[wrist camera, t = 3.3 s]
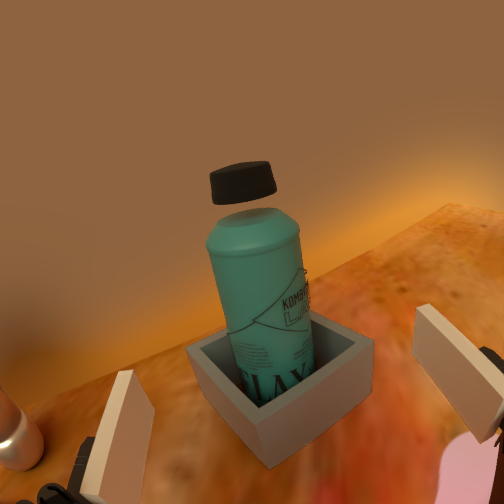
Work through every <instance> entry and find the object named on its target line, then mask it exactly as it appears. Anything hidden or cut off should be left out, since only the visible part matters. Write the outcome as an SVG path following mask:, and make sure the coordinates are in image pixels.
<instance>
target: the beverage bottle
mask: <svg viewBox="0 0 504 504" xmlns="http://www.w3.org/2000/svg"><path fill="white" fill-rule="evenodd" d="M210 183H211V190H212V200H213V203H214V204H217V205H227V204H236V203H242V202H248V201H252V200H256V199H260V198H263V197H266V196H269V195H272V194H274V193H275V192H276V191H277V187H276V183H275V180H274V177H273V174H272V170H271V166H270V164H269V162H267V161H257V162H256V161H255V162H244V163H238V164H234V165H230V166H227V167H224V168H221V169H219V170H216V171H213V172H211V173H210ZM299 232H300V229H299V225H298V223H297V222H296V221H295V220H294V219H292V218H291V217H290V216H288V215H287V214H285V213H284V212H282V211H281V210H279V209H276V208H257V209H251V210H246V211H242V212H238V213H235V214H232V215H229V216H227V217H224V218H222V219H221V220H219V221H218V222H217V224H216V225H215V226H214V228H213V229H212V231H211V232H210V234H209V236H208V237H207V239H206V248H207V251H208V252H209V256H210V260H211V264H212V268H213V272H214V276H215V280H216V284H217V288H218V292H219V296H220V300H221V304H222V307H223V311H224V315H225V319H226V323H227V329H228V333H229V334H228V333H227V335H229V336H230V340H231V344H232V345H231V344H230V345H231V347H233V351H234V352H233V351H232V352H233V354H235V359H236V360H235V361H236V362H237V365H238V366H237V367H238V370H237V371H238V373H240V376H239V378H240V377H241V380H242V381H241V383H243V384H241V385H242V386H243V387H244V391H245V393H246V394H245V395H246V397H247V398H248V399H249V400H250V401H251V402H253V403H254V404H255V405H256V406H257V407H258V408H261V407H262V406H264V405H266V404H267V403H269V402H270V401H272V400H274V399H275V398H277V397H278V396H280V395H282V394H283V393H285V392H286V391H288V390H289V389H291V388H292V387H294V386H296V385H297V384H299V383H300V382H302V381H303V380H305V379H306V378H308V377H309V376H310V375H312V374H313V373H315V372H316V371H317V366H316V362H317V359H316V356H315V349H316V348H315V349H313V348H314V346H313V340H314V339H312V338H313V336H312V330H311V321H310V320H311V319H310V312H309V308H310V307H309V302H310V304H311V301H310V300H309V301H308V295H309V293H308V295H307V292H308V290H309V288H308V287H309V284H307V283H306V279H305V274H306V273H307V272H306V273H305V272H304V270H305V269H304V267H303V260H302V252H301V245H300V237H299ZM305 271H306V270H305ZM307 282H308V281H307ZM306 286H307V287H306ZM307 288H308V290H307ZM309 298H310V297H309ZM313 333H314V332H313ZM313 335H314V334H313ZM314 358H315V359H314ZM315 368H316V369H315ZM238 375H239V374H238ZM242 389H243V388H242Z"/></svg>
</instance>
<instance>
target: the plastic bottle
mask: <svg viewBox="0 0 504 504" xmlns="http://www.w3.org/2000/svg"><path fill="white" fill-rule="evenodd" d="M43 452H44V439H43V435H42V434H41V432H40V430H39V428H38V427H37V425H36V423H35V422H34V421H33V420H32V419H31V418H30V417H29V416H28V415H27V414H26V413H25V412H24V411H23V410H21V409H20V408H18V406H17V405H16V404H15V403H14V402H13V400H12V399H11V398H10V397H9V396H8V395H7V393H6V392H5V391H4V390H3V388H2V387H1V386H0V464H2V465H3V466H4V467H6V468H7V469H10V470H14V471H26V470H28V469H30V468H32V467H33V466H35V465H36V464H37V463H38V462H39V460H40V459H41V457H42V455H43Z"/></svg>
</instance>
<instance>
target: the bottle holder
mask: <svg viewBox="0 0 504 504" xmlns="http://www.w3.org/2000/svg"><path fill="white" fill-rule="evenodd" d="M309 312H310V319H311V320H310V321H311V330H312V336H313V338H312V339H314V340H313V346H314V348H313V349H315V348H316V349H315V356H316V359H317V362H316V366H317V371H316V372H315V373H313V374H312V375H310V376H309V377H308V378H306V379H305V380H303V381H302V382H300V383H299V384H297V385H296V386H294V387H292V388H291V389H289V390H288V391H286V392H285V393H283V394H282V395H280V396H278V397H277V398H275V399H274V400H272V401H270V402H269V403H267V404H266V405H264V406H262V407H261V408H258V407H257V406H256V405H255V404H254V403H253V402H251V401H250V400H249V399H248V398H247V397H246V396H245V395H244V394H243V393H242V392H241V391H240V390H239V389H238V388H237V387H236V386H237V385H239V384H240V383H241V381H242V380H241V377H240V378H239V376H240V373H238V371H237V370H238V367H237V366H238V365H237V362H236V361H235V360H236V359H235V354H233V352H234V351H233V347H231V345H232V344H231V340H230V336H229V335H227V333H228V329H227V328H225V329H223V330H221V331H219V332H217V333H215V334H213V335H211V336H209V337H207V338H205V339H202V340H200V341H198V342H196V343H194V344H192V345H190V346H188V347H185V350H186V352H187V355H188V358H189V360H190V363H191V365H192V368H193V370H194V373H195V375H196V378H197V380H198V383H199V385H200V388H201V390H202V392H203V395H204V396H205V397H206V399H207V400H208V401H209V402H210V404H211V405H212V406H213V407H214V409H215V410H216V411H217V412H218V413H219V415H220V416H221V417H222V418H223V419H224V421H225V422H226V423H227V424H228V425H229V426H230V428H231V429H232V430H233V431H234V432H235V433H236V434H237V436H238V437H239V438H240V439H241V440H242V441H243V442H244V443H245V445H246V446H247V447H248V448H249V449H250V450H251V451H252V452H253V453H254V454H255V455H256V457H257V458H258V459H259V460H260V461H261V462H262V463H263V464H264V465H265V466H266V467H267V468H268V469H269V470H270V469H272V468H273V467H275V466H276V465H278V464H279V463H281V462H282V461H284V460H285V459H287V458H288V457H290V456H291V455H293V454H294V453H296V452H297V451H299V450H300V449H302V448H303V447H304V446H306V445H307V444H309V443H310V442H311V441H313V440H314V439H315V438H317V437H318V436H319V435H321V434H322V433H323V432H325V431H326V430H327V429H329V428H330V427H331V426H333V425H334V424H335V423H336V422H338V421H339V420H340V419H341V418H343V417H344V416H345V415H346V414H347V413H349V412H350V411H351V410H352V409H353V408H355V407H356V406H357V405H358V404H359V403H361V402H362V401H363V400H364V399H365V398H366V397H367V396H369V395H370V394H371V391H372V377H373V360H374V340H372V339H370V338H368V337H366V336H363V335H361V334H359V333H357V332H355V331H353V330H351V329H349V328H347V327H344V326H342V325H340V324H338V323H336V322H334V321H332V320H330V319H328V318H326V317H324V316H322V315H320V314H317V313H315V312H313V311H311V310H309ZM313 332H314V333H313ZM228 334H229V333H228ZM313 334H314V335H313ZM230 344H231V345H230ZM232 351H233V352H232ZM314 359H315V358H314ZM315 369H316V368H315ZM238 374H239V375H238Z"/></svg>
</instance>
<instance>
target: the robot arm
mask: <svg viewBox="0 0 504 504" xmlns="http://www.w3.org/2000/svg"><path fill="white" fill-rule="evenodd" d="M411 353H412V354H413V355H414V357H415V358H416V359H417V361H418V362H419V363H420V364H421V366H422V367H423V368H424V369H425V371H426V372H427V373H428V374H429V376H430V377H431V378H432V380H433V381H434V382H435V384H436V385H437V386H438V387H439V389H440V390H441V391H442V393H443V394H444V395H445V397H446V398H447V399H448V401H449V402H450V403H451V405H452V406H453V407H454V409H455V410H456V411H457V413H458V414H459V415H460V417H461V418H462V420H463V421H464V422H465V424H466V425H467V426H468V428H469V429H470V431H471V432H472V433H473V435H474V436H475V437H476V439H477V440H478V442H479V443H480V444H481V443H483V442H485V441H486V440H488V439H489V438H491V437H492V436H493V435H494V434H495V433H496V431H497V429H498V427H500V428H501V430H502V432H501V434H500V436H499V437H498V439H497V441H496V443H495V445H494V447H496V446H497V445H498V443H499V442H500V444H499V452H498V459H497V466H496V471H495V477H494V482H493V487H492V492H491V496H490V501H489V504H504V360H503V359H501V357H500V356H499V355H498V354H497V353H496V352H494V351H493V350H491V349H489V348H487V347H485V346H483V347H481V348H480V349H478V348H477V347H476V346H475V345H474V344H472V343H471V342H470V341H469V340H468V339H467V338H466V337H465V336H464V335H463V334H462V333H461V332H460V331H459V330H458V329H457V328H456V327H455V326H453V325H452V324H451V323H450V322H449V321H448V320H447V319H446V318H445V317H444V316H443V315H442V314H440V313H439V312H438V311H437V310H436V309H435V308H434V307H433V306H432V305H430V304H429V303H428V304H425V305H422V306H419V307H416V314H415V325H414V335H413V344H412V352H411ZM154 413H155V409H154V407H153V406H152V404H151V402H150V400H149V399H148V397H147V395H146V393H145V391H144V389H143V388H142V386H141V384H140V382H139V380H138V378H137V376H136V374H135V372H134V370H127V371H119V372H118V375H117V377H116V380H115V383H114V385H113V388H112V391H111V394H110V397H109V399H108V402H107V405H106V408H105V411H104V414H103V417H102V420H101V423H100V426H99V429H98V432H97V435H96V437H87V438H86V439H85V441H84V442H83V443H82V445H81V446H80V449H79V452H78V455H77V456H78V457H77V458H76V461H75V465H74V467H73V470H72V474H71V477H70V480H69V483H68V487H67V490H65V489H64V488H63V487H62V486H61V485H59V484H57V483H49V484H46V485H45V486H43V487H42V488H41V489H40V491H39V492H38V495H37V503H38V504H140V498H141V491H142V484H143V477H144V471H145V464H146V458H147V452H148V446H149V440H150V435H151V429H152V423H153V418H154ZM16 504H33V503H32V502H30V501H28V500H20V501H18V502H17V503H16Z"/></svg>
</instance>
